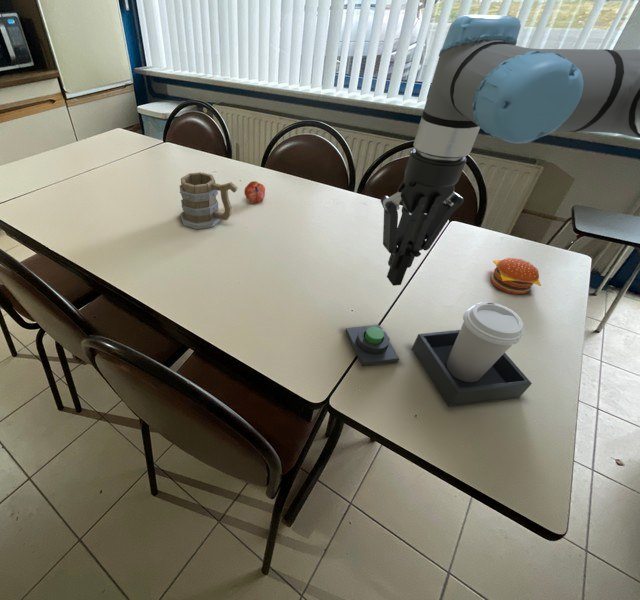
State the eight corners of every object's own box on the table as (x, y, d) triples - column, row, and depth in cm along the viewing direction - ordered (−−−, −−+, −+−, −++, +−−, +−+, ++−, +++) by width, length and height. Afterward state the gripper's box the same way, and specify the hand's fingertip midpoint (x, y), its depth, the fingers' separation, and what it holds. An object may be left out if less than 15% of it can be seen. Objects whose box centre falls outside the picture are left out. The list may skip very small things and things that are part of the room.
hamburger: (484, 271, 100) (495, 251, 96) (522, 275, 99) (535, 255, 95) (495, 293, 93) (507, 272, 89) (536, 298, 92) (551, 277, 88)
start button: (384, 343, 77) (386, 338, 76) (368, 345, 77) (370, 339, 76) (377, 331, 80) (379, 326, 79) (361, 333, 80) (363, 327, 78)
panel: (397, 362, 77) (402, 353, 75) (361, 366, 76) (364, 357, 74) (378, 328, 84) (381, 319, 82) (344, 331, 83) (347, 322, 81)
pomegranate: (242, 203, 135) (243, 198, 125) (245, 184, 135) (246, 176, 125) (262, 206, 135) (264, 201, 125) (265, 186, 135) (267, 179, 125)
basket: (519, 397, 70) (532, 383, 67) (448, 406, 69) (458, 392, 66) (473, 341, 81) (482, 327, 78) (411, 348, 80) (418, 333, 77)
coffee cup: (491, 363, 76) (529, 311, 66) (486, 397, 70) (527, 345, 60) (442, 344, 80) (471, 292, 70) (433, 375, 74) (464, 322, 64)
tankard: (174, 222, 120) (168, 178, 110) (196, 207, 129) (192, 164, 119) (226, 238, 113) (224, 193, 103) (245, 221, 121) (246, 177, 111)
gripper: (466, 141, 56) (416, 266, 71) (385, 145, 54) (352, 271, 70) (498, 159, 50) (437, 290, 66) (408, 164, 49) (368, 297, 64)
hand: (393, 280), depth 68 cm, fingers closed
